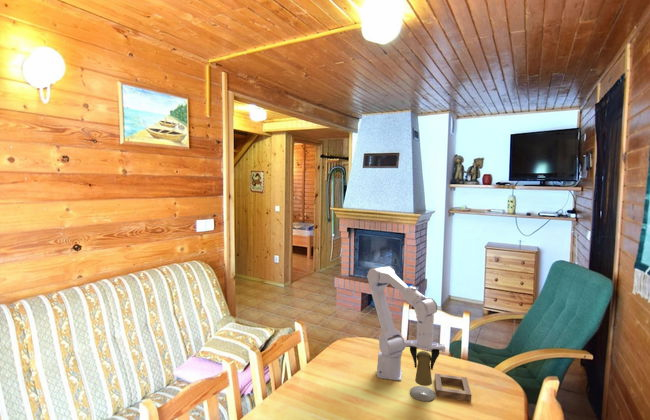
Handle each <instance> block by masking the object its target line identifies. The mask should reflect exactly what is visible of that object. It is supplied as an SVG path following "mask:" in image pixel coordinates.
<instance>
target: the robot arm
mask: <svg viewBox="0 0 650 420" xmlns="http://www.w3.org/2000/svg"><path fill="white" fill-rule="evenodd" d="M366 278H367V281H368V285H369V289H370V292H371V297H372V300H373V304H374V307H375V310H376V314H377V318H378V322H379V325H380V328H381V329H380V330H381V332H380V334H379V336H378V345H379V346H378V347H379V351H378V354H377V365H376V366H377V367H376V370H377V375H376V377H377V378H378V379H386V380H394V381H402V375H403V374H402V373H403V370H402V367H401V365H402V354H403V351H405V349H406V348H409V352H410V354H411V356H412V361H413V363H414V368H416V369H417V365H418V362H417V361H418V360H417V354H418V352H417V350H418V349H421V350H422V351H423V350H424V351H428V350H431V354H430V355H431V361H430V370H431V371H433V370H434V365H435V363H436V361H437V359H438V357H439V356H440V352H443V353H446V344H443V343H438V342H434V340H433V339H434V320H435V319H434V318H435V316H434V315H435V314H436V313H437V312H438V303H437V302H436V301H435V299H434V298H432V297H427V296H426V295H424V294H423V293H421V292H420V291H419V290H418V289H417V287H416V286H412V285H411V286H408V285H407V284H406V283H405V282H404V281H403V280H402V279H401V278H400V277H399V276H398V275H397V274H396V271H395V269H393V268H392V267H391V266H388V265H385V266H382V267H376V268H375V267H373V268H370V269H369V270H368V272H367V275H366ZM389 284H390V285H391V286H392V287H393V288H394V289H396V290H397V291H399V292H400V293H401V294H402V298H403V300H405V301H406V302H407V303H408V304H410V305H411V306H412V307H413V308H414V313H415V316H416V317H415V318H416V320H417V322H416V323H417V324H416V339H411V340H410V339H404V337H403V334H402V331H401V330H399V329H397V328H396V327H395V324H394V321H393V317H392V314H391V310H390V307H389V304H388V300H387V296H386V293H385V290H386V287H387V286H388V285H389Z"/></svg>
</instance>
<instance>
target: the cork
mask: <svg viewBox="0 0 650 420" xmlns="http://www.w3.org/2000/svg"><path fill="white" fill-rule="evenodd" d="M416 359H417V361H418V362H417V368H416V372H415V373H416V374H415V380H414V381H415V383H416V384H418V386H424V387H429V386H431V385H432V384H433V380H432V370H431V367H430V366H431V354H430V353H429V352H427V351H426V350H424V351H423V350H421V351H418V352H417V358H416Z"/></svg>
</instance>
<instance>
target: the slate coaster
mask: <svg viewBox="0 0 650 420" xmlns="http://www.w3.org/2000/svg"><path fill="white" fill-rule="evenodd" d="M409 394H410V396H411V397H412V398H414V399H415V400H417V401H420V402H425V403H426V402H428V403H429V402H432V401H434V400H435V398H436V392H435V391H434V390H433V389H431V388H429V387H428V386H422V385H415V386H412V387H411V388H410V389H409Z"/></svg>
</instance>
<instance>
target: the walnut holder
mask: <svg viewBox="0 0 650 420" xmlns="http://www.w3.org/2000/svg"><path fill="white" fill-rule="evenodd" d="M442 384H447V385H454V386H461V389H454V388H446V387H443V385H442ZM434 386H435V397H439V398H443V399H444V398H445V399H446V398H447V399H452V400H458V401H466V402H472V392H471V388H470V384H469V381H468V378H467V377H464V376H457V375H452V374H451V375H448V374H442V373H441V374H440V373H434Z"/></svg>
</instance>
